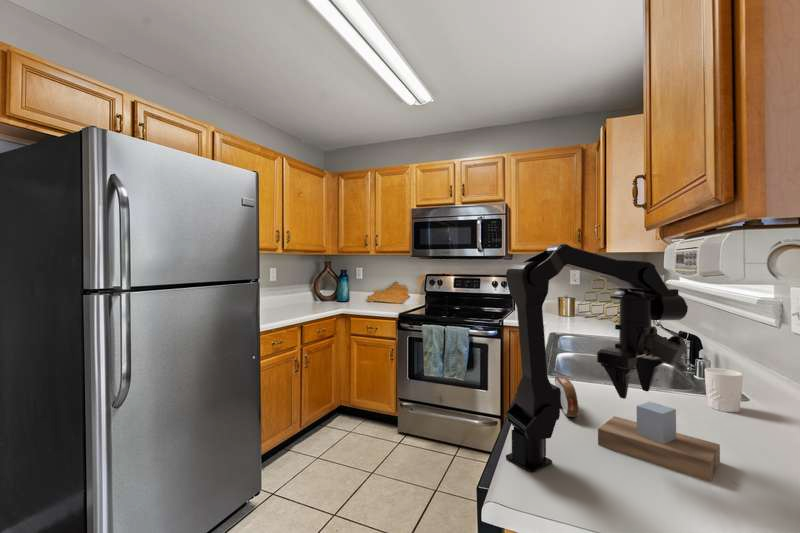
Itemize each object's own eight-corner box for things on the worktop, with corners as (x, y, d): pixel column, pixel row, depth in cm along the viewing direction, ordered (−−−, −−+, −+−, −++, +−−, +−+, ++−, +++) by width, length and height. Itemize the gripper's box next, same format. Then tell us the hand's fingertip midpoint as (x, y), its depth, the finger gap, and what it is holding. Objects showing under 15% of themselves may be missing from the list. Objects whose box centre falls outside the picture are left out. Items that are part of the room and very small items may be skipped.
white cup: (750, 414, 97) (750, 376, 97) (717, 412, 98) (716, 375, 98) (729, 403, 105) (728, 368, 105) (698, 402, 106) (697, 367, 106)
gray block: (663, 444, 73) (662, 413, 74) (636, 434, 78) (636, 405, 78) (676, 438, 76) (675, 409, 76) (650, 429, 80) (649, 401, 80)
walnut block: (710, 484, 67) (710, 462, 67) (598, 447, 81) (597, 428, 81) (719, 464, 73) (719, 444, 73) (614, 433, 87) (614, 416, 87)
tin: (579, 422, 92) (579, 388, 92) (566, 421, 93) (565, 388, 93) (565, 401, 107) (565, 372, 107) (553, 400, 108) (553, 371, 108)
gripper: (655, 329, 67) (654, 416, 67) (700, 322, 77) (699, 398, 77) (595, 321, 77) (594, 397, 76) (642, 316, 86) (641, 384, 86)
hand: (634, 394), depth 79 cm, fingers open, 9 cm apart
